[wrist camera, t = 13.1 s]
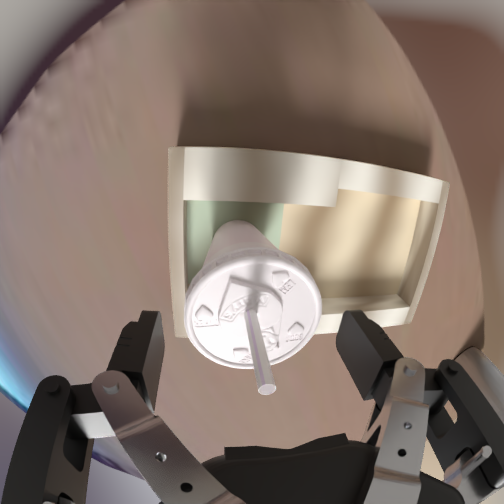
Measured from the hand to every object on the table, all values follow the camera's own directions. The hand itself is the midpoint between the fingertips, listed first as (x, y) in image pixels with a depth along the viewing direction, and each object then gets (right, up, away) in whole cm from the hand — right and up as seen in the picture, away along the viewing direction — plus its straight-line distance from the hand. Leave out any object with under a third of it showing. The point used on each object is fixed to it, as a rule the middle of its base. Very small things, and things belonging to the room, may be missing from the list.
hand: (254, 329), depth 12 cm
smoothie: (-1, +4, +10) cm, 10 cm away
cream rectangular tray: (+5, +4, +11) cm, 13 cm away
